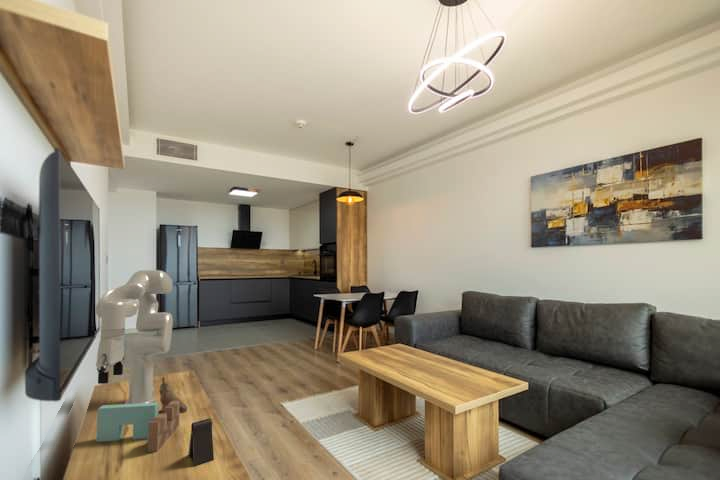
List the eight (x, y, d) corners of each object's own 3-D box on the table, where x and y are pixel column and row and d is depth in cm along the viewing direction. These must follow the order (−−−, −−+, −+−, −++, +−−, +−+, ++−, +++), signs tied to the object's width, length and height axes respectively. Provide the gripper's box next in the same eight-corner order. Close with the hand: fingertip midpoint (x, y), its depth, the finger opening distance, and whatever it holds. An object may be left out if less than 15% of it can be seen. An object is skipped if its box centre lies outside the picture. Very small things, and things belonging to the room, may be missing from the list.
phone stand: (213, 460, 116) (214, 423, 117) (194, 466, 112) (195, 428, 113) (206, 448, 123) (207, 414, 124) (188, 454, 119) (189, 418, 120)
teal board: (101, 437, 131) (102, 405, 132) (157, 434, 134) (158, 402, 134) (96, 441, 128) (97, 408, 129) (153, 437, 131) (155, 405, 132)
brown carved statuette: (158, 424, 147) (149, 384, 146) (157, 419, 152) (149, 380, 151) (188, 412, 154) (180, 373, 153) (187, 407, 158) (179, 370, 157)
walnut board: (171, 425, 140) (171, 400, 141) (178, 425, 141) (179, 400, 142) (147, 452, 121) (149, 422, 121) (157, 451, 121) (158, 422, 122)
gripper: (114, 329, 141) (112, 372, 139) (87, 338, 124) (85, 387, 122) (134, 329, 142) (132, 371, 140) (110, 337, 125) (108, 386, 123)
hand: (110, 378), depth 131 cm, fingers open, 9 cm apart
